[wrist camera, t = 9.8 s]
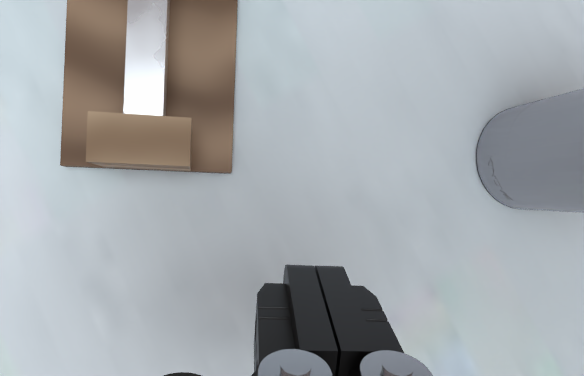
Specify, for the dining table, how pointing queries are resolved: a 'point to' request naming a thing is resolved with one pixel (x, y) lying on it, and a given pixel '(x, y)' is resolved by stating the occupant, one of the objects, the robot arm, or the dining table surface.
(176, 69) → the wooden slider rail stand
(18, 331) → the dining table surface
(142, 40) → the grey long bar
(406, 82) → the dining table surface
